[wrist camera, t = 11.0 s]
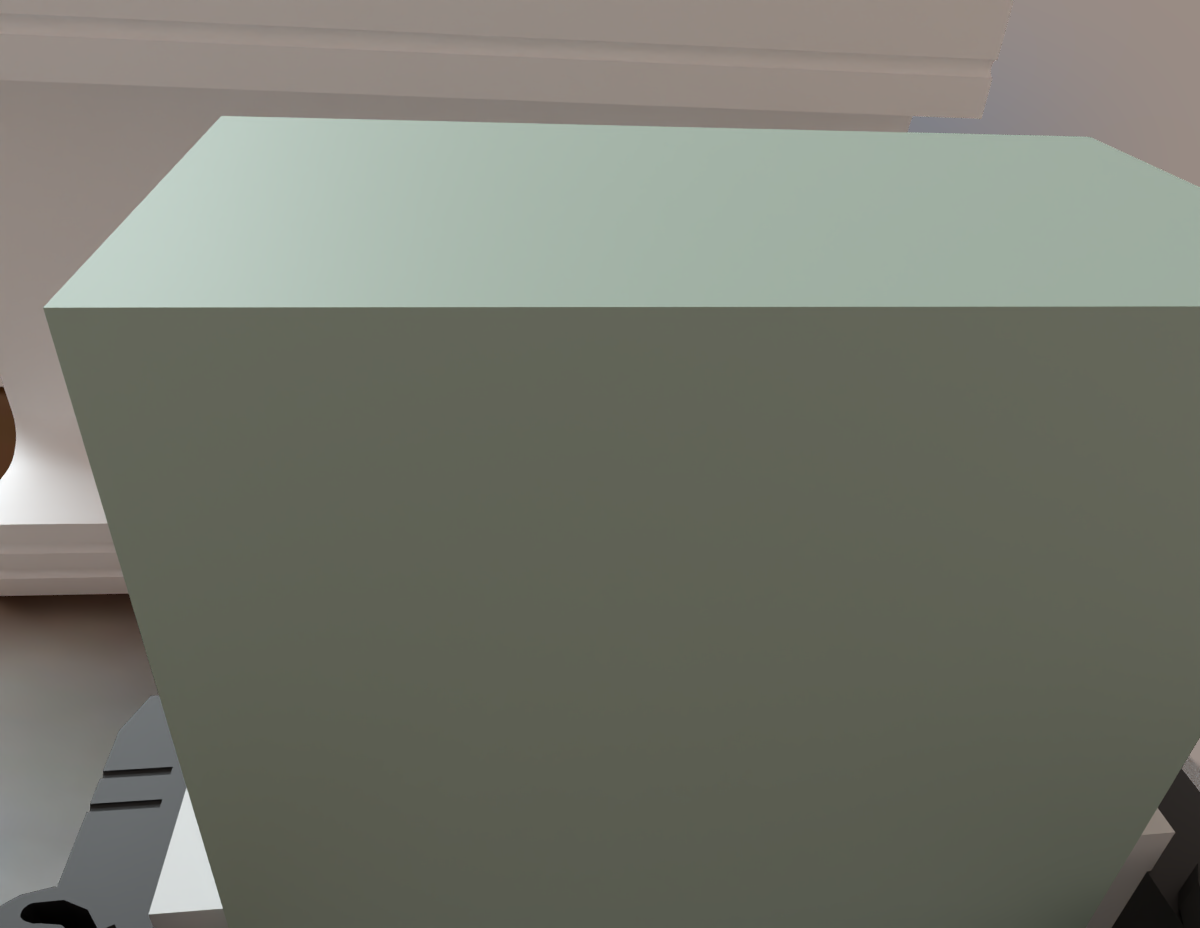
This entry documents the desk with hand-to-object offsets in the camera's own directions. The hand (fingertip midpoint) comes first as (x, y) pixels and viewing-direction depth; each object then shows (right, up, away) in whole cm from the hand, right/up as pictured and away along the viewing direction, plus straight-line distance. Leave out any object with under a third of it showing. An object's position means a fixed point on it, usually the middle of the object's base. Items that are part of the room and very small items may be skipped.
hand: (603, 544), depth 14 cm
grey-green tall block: (0, -10, +1) cm, 10 cm away
